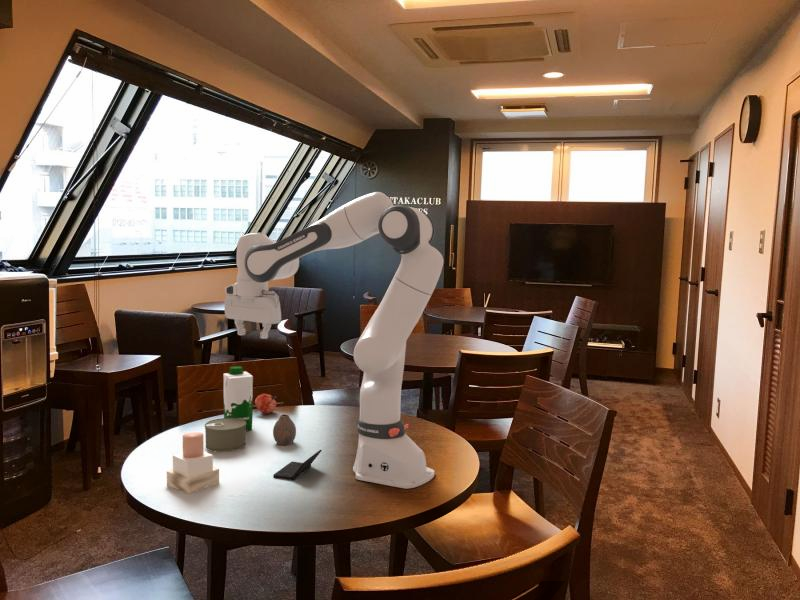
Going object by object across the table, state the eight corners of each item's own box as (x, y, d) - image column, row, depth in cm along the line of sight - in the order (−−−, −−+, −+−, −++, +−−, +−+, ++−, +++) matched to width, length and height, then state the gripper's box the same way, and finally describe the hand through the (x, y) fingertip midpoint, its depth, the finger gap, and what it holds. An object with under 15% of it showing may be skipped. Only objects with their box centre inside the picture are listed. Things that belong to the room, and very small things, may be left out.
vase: (298, 440, 196) (298, 412, 195) (292, 447, 189) (292, 418, 188) (276, 439, 196) (276, 411, 196) (270, 446, 190) (270, 417, 189)
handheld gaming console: (284, 458, 175) (304, 433, 173) (304, 474, 176) (325, 449, 173) (270, 479, 164) (291, 453, 162) (291, 496, 165) (313, 470, 162)
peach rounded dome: (207, 454, 160) (207, 435, 160) (190, 459, 156) (190, 439, 156) (195, 449, 163) (195, 431, 163) (178, 454, 159) (178, 435, 159)
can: (248, 450, 186) (248, 427, 185) (205, 454, 182) (205, 431, 181) (244, 437, 197) (244, 416, 196) (204, 441, 193) (203, 419, 192)
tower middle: (212, 470, 160) (212, 454, 160) (187, 477, 155) (187, 462, 154) (197, 463, 165) (197, 448, 164) (172, 470, 159) (172, 455, 159)
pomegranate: (253, 422, 221) (273, 407, 218) (243, 404, 223) (263, 389, 220) (265, 418, 228) (285, 404, 225) (256, 401, 230) (275, 387, 227)
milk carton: (247, 423, 212) (247, 364, 210) (255, 430, 204) (255, 369, 202) (221, 426, 208) (220, 367, 206) (228, 434, 200) (228, 372, 198)
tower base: (219, 483, 161) (219, 468, 161) (189, 495, 154) (189, 479, 154) (196, 475, 167) (196, 461, 166) (167, 486, 159) (166, 471, 159)
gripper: (286, 290, 179) (286, 339, 180) (237, 286, 190) (237, 331, 192) (270, 292, 174) (270, 341, 175) (220, 287, 185) (221, 334, 187)
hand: (252, 336), depth 184 cm, fingers open, 8 cm apart
